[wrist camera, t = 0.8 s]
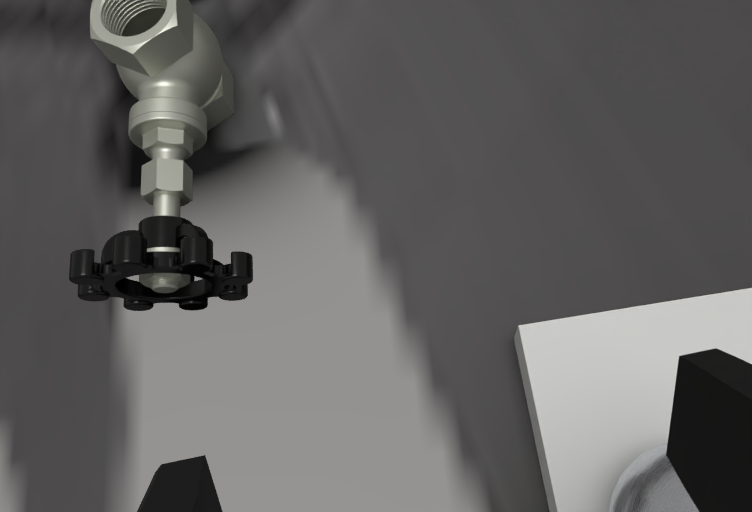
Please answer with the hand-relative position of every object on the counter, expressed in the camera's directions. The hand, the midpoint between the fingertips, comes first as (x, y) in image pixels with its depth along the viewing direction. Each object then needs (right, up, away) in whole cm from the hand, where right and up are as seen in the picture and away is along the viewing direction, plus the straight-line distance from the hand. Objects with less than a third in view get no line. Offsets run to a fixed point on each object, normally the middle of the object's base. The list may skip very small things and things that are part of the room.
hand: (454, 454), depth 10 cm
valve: (-9, +6, +20) cm, 23 cm away
